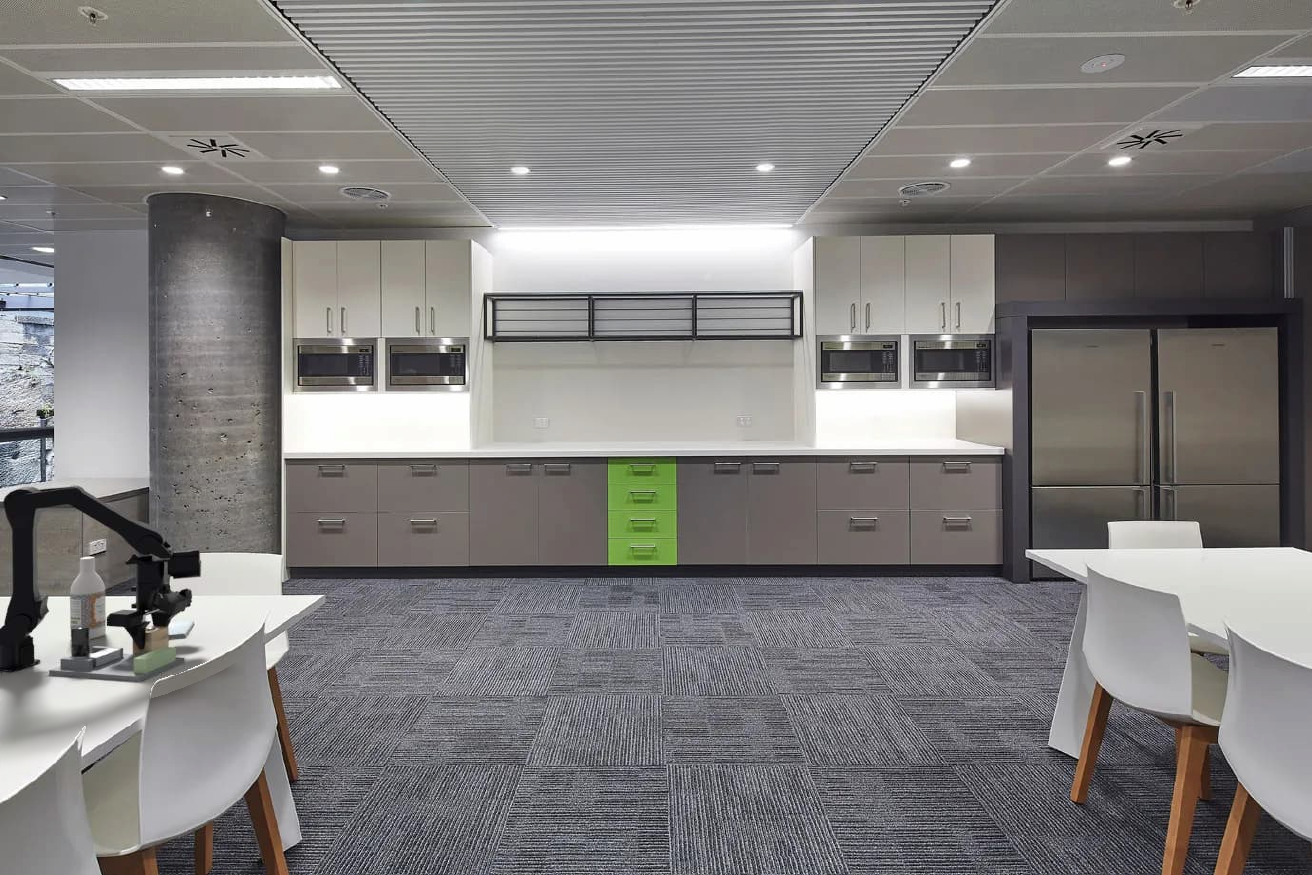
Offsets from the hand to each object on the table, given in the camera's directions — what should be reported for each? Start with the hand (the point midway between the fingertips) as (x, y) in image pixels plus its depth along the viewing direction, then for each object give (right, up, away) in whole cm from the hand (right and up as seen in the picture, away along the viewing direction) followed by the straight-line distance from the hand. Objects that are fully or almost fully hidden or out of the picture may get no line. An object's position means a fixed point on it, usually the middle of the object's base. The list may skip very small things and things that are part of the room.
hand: (150, 645), depth 172 cm
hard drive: (-4, -1, +14) cm, 14 cm away
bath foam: (-22, -1, +9) cm, 24 cm away
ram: (-5, 0, -11) cm, 13 cm away
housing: (0, -1, 0) cm, 1 cm away
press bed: (+1, -2, -12) cm, 12 cm away
